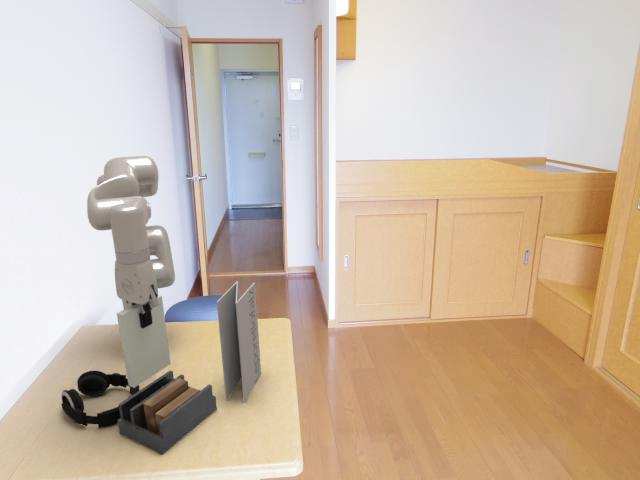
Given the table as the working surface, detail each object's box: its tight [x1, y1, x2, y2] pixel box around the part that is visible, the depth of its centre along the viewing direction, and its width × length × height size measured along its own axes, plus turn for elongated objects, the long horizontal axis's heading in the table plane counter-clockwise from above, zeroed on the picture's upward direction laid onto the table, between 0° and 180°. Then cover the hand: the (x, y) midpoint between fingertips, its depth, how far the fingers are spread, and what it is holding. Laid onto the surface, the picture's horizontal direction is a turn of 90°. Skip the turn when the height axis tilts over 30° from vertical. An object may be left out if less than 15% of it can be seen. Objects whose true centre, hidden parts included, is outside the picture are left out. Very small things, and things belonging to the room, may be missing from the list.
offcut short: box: [155, 386, 200, 436], centre depth 118 cm, size 3×12×8 cm, turn 151°
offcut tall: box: [143, 378, 189, 436], centre depth 120 cm, size 3×12×9 cm, turn 151°
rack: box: [117, 370, 218, 455], centre depth 120 cm, size 15×19×8 cm
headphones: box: [60, 370, 141, 429], centre depth 127 cm, size 18×8×20 cm
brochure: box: [216, 280, 262, 404], centre depth 131 cm, size 14×6×30 cm, turn 168°
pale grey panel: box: [116, 294, 172, 388], centre depth 117 cm, size 2×12×20 cm, turn 151°
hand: (143, 324), depth 116 cm, fingers closed on pale grey panel, 2 cm apart
